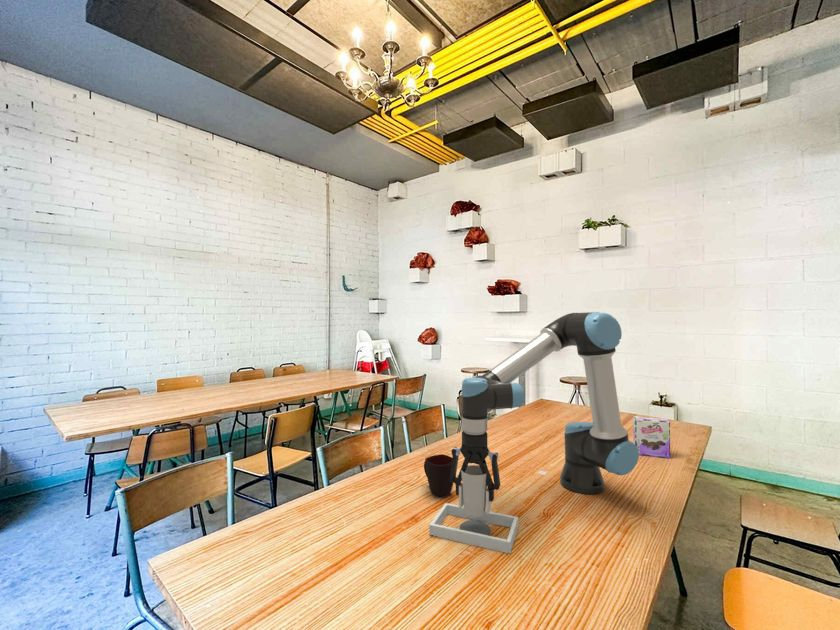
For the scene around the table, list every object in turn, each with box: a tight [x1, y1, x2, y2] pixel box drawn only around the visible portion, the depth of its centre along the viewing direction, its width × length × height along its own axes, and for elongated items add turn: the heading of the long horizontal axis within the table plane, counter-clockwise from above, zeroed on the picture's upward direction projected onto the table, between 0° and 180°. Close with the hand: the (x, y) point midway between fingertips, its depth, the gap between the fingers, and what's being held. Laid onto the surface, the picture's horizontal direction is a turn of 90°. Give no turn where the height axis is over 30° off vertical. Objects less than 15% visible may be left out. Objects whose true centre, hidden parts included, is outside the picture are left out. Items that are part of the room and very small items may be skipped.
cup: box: [460, 464, 488, 517], centre depth 114 cm, size 8×8×12 cm
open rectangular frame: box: [428, 502, 519, 555], centre depth 113 cm, size 23×14×3 cm, turn 67°
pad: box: [459, 519, 492, 536], centre depth 114 cm, size 9×9×1 cm
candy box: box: [632, 415, 671, 459], centre depth 175 cm, size 14×6×16 cm, turn 68°
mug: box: [423, 454, 454, 499], centre depth 139 cm, size 10×14×12 cm
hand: (474, 508), depth 114 cm, fingers closed on cup, 7 cm apart
